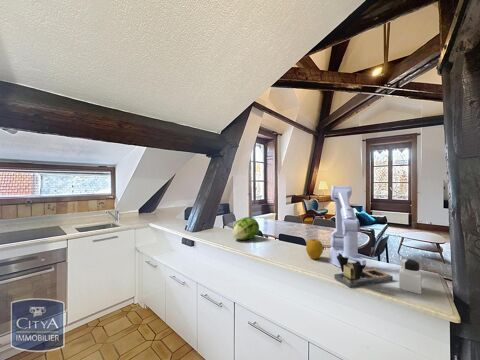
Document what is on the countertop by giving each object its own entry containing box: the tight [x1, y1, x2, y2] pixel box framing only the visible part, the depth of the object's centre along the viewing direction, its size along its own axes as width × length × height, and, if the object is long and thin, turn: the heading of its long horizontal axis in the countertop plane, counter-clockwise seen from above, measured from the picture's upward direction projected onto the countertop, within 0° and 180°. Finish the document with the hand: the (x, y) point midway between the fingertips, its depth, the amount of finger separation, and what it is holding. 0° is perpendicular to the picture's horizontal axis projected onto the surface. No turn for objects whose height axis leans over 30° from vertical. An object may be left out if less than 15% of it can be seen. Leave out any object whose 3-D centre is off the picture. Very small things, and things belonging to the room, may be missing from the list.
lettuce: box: [232, 216, 260, 241], centre depth 167 cm, size 18×23×19 cm
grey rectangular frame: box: [333, 268, 394, 289], centre depth 97 cm, size 9×25×2 cm, turn 107°
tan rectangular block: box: [343, 263, 358, 281], centre depth 95 cm, size 4×4×7 cm
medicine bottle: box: [398, 258, 422, 295], centre depth 89 cm, size 7×7×12 cm
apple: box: [305, 238, 324, 260], centre depth 124 cm, size 10×10×12 cm
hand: (350, 275), depth 95 cm, fingers open, 7 cm apart
